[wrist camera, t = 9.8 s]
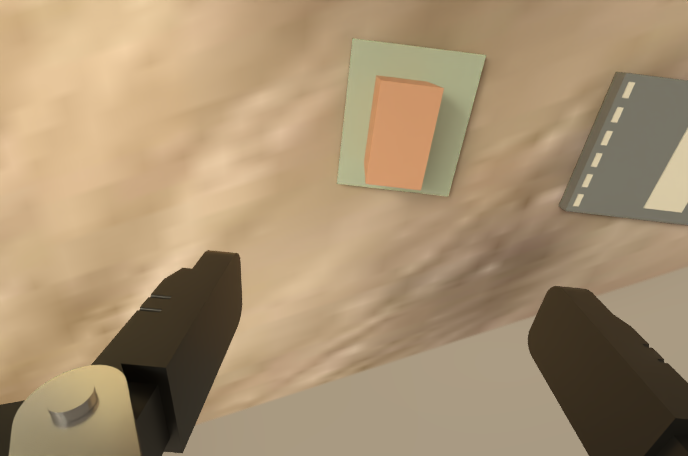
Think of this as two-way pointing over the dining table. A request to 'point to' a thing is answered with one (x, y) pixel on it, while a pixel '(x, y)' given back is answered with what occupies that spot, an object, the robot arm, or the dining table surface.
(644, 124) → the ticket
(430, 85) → the green plate orange block
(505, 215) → the dining table surface
